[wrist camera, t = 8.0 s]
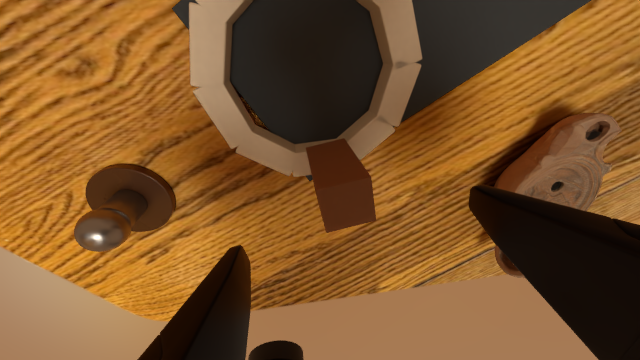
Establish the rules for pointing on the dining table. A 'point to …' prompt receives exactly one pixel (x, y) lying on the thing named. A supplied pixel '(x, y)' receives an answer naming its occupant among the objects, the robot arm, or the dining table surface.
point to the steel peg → (123, 206)
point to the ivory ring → (320, 156)
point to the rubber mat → (364, 55)
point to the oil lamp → (561, 167)
